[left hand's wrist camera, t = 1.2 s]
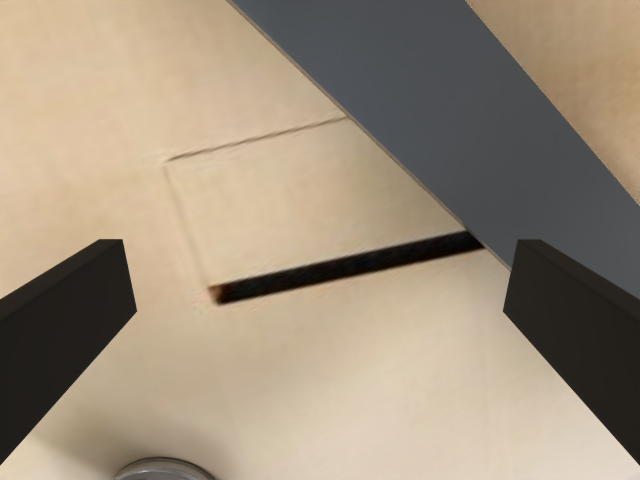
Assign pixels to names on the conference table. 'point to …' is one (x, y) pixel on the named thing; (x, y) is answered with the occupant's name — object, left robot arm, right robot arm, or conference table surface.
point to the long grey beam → (461, 123)
